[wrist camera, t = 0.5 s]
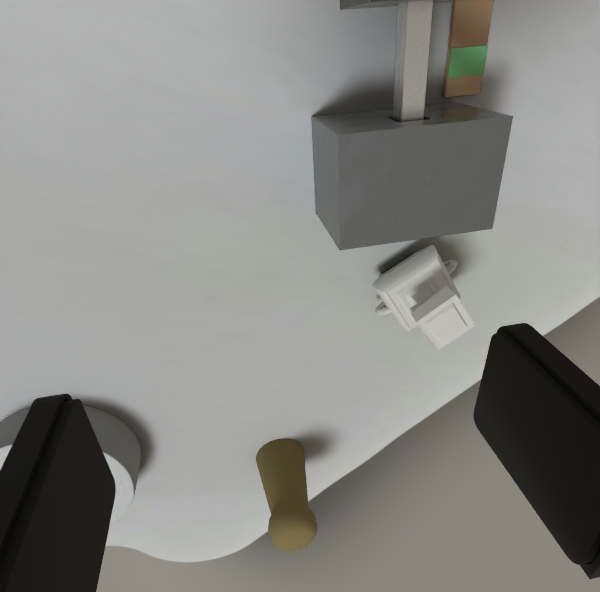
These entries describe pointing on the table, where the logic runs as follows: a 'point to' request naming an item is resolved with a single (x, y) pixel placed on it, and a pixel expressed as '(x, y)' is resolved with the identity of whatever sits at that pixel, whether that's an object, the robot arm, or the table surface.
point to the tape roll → (113, 441)
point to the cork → (286, 494)
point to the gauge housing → (408, 173)
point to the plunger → (407, 52)
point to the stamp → (424, 297)
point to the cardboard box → (467, 47)
